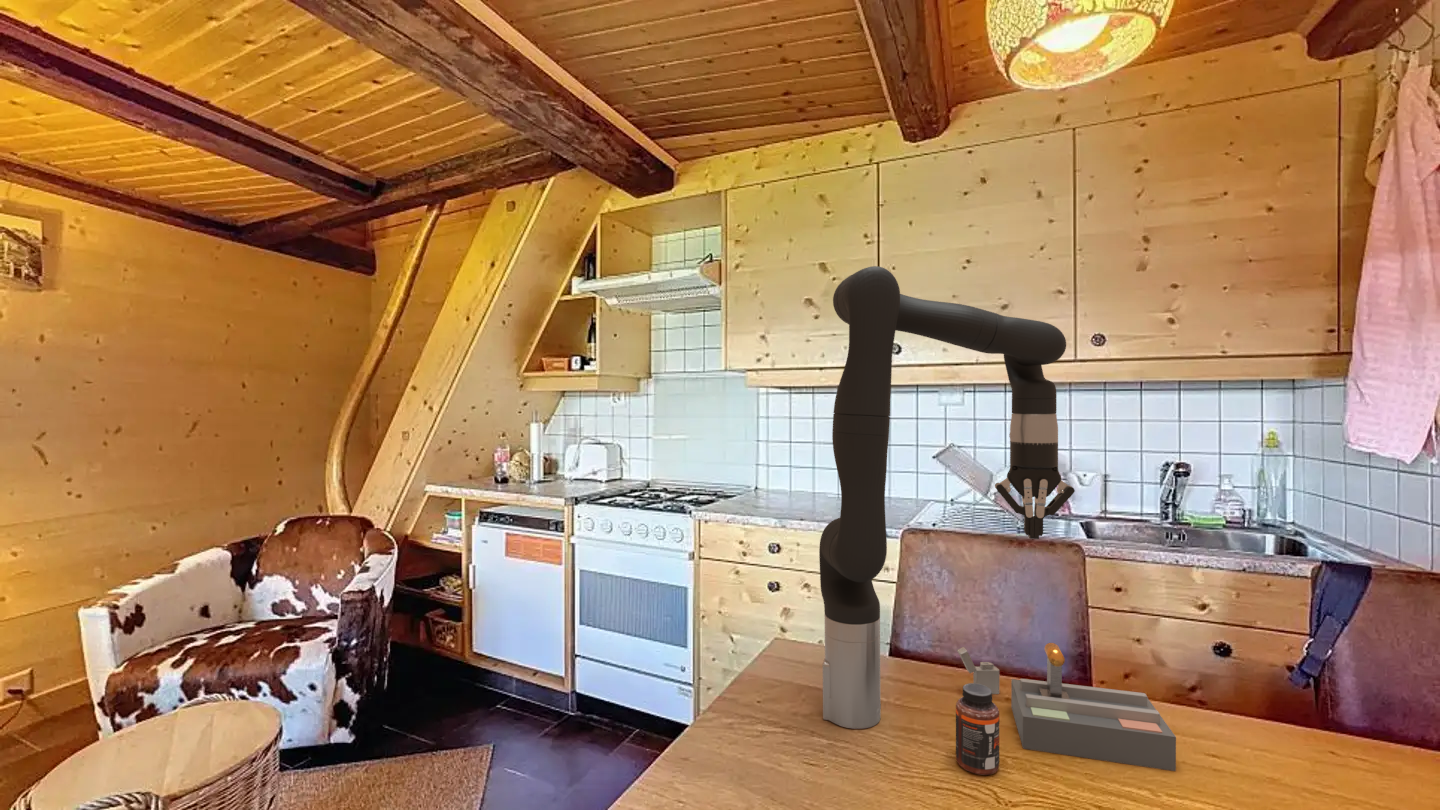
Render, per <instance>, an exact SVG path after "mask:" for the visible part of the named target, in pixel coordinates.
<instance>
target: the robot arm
mask: <svg viewBox="0 0 1440 810" xmlns="http://www.w3.org/2000/svg"><path fill="white" fill-rule="evenodd" d="M832 305H833V308H834V311H835V314H836V315H837V316H838V318H839V319H840V320H842V321H843V322H844V323H845V324H847V325H848V326H849V327H848V351H847V356H846V361H845V365H844V368H843V371H842V374H841V378H840V379H839V384H838V386H837V391H836V394H835V395H836V396H835V399H834V405H833V412H832V413H833V414H832V415H833V417H832V432H831V433H832V447H833V455H834V460H835V467H836V470H837V476H838V479H839V480H838V481H839V485H840V493H841V495H840V496H841V498H840V499H841V503H840V504H841V506H840V512H839V513H840V514H839V517H838V518H835V519H833V520H832V521H830V522H829V523H828V524H827V525H825V527H824V529H823V531H822V533H821V536H820V539H819V556H818V557H819V578H820V579H819V581H820V592H821V593H820V594H821V597H822V600H823V604H824V605H823V607H824V608H823V609H824V611H823V612H824V660H823V662H822V719H823V720H825V721H829V722H832V723H833V724H835V725H837V726H840V727H842V728H843V727H844V728H847V729H852V730H854V729H856V730H861V729H867V728H868V729H869V728H871V727H872V728H873V727H874V726H876V725H877V724H879V722H880V721H881V710H882V709H881V707H882V705H881V704H882V703H881V603H880V600H879V599H880V598H878V597H879V596H878V595H877V593H876V591H875V588H874V584H873V581H872V580H873V579H875V578H876V577H877V576H878V575H879V574H880V573H881V571H882V569H883V568H884V565H885V563H886V560H887V553H888V549H887V548H888V543H887V542H888V541H887V524H886V522H887V521H886V501H885V500H886V497H885V496H886V492H885V491H886V483H887V468H888V467H887V466H888V448H889V441H890V439H889V437H890V424H891V423H890V421H891V417H890V416H891V393H892V369H893V367H892V365H893V352H894V351H893V349H894V342H895V336H896V332H904V333H909V334H913V335H918V336H921V337H926V338H929V339H933V340H936V341H940V342H943V343H946V344H951V345H954V346H957V347H960V348H965V349H967V350H972V351H975V352H980V353H983V354H991V355H994V354H995V355H996V354H998V355H999V354H1000V355H1003V360H1004V365H1005V370H1006V372H1007V377H1008V382H1009V385H1010V387H1011V417H1010V418H1011V419H1010V423H1009V424H1010V426H1009V445H1010V446H1009V470H1008V471H1007V474H1006V478H1005V479H1003V480H1002V481H1000V482H997V483H995V484H994V488H995V490H997V492H998V493H999V495H1000V496H1002V498H1003V499H1004V500H1005V501H1006V503H1007V504H1008V505H1009V506H1010V508H1011V509H1012V511H1014V512H1015V513H1016V514H1019V515H1022V516H1023V531H1024V534H1025V535H1026V536H1028V538H1029V539H1031V540H1040V537H1042V536H1043V535H1044V519H1045V517H1047V516H1048V517H1049V516H1050V515H1051V516H1053V515H1055V514H1056V513H1057V512H1058V511H1059V510H1060V509H1061V508H1062V506H1064V504H1065V503H1066V502H1067V501H1068V500H1069V499H1070V498H1071V497H1072V496H1073V494H1075V492H1076V491H1075V488H1074V487H1073V486H1071V485H1069V484H1067V483H1066V482H1064V481H1063V480H1062V475H1061V473H1060V472H1059V425H1058V417H1057V415H1058V414H1057V386H1056V384H1055V382H1053V381H1051V380H1049V379H1046V378H1045V375H1044V372H1043V366H1047V365H1050V364H1054V363H1055V362H1057V361H1058V360H1060V359H1061V358H1062V356H1063V355H1064V354H1065V351H1066V349H1067V339H1066V337H1065V335H1064V334H1063V332H1062V331H1061V330H1060V328H1058V327H1057V326H1055V325H1053V324H1050V323H1048V322H1045V321H1040V320H1036V319H1035V320H1034V319H1029V318H1023V317H1022V318H1021V317H1015V316H1014V317H1012V316H1005V315H1002V314H999V313H996V312H993V311H989V310H986V309H982V308H978V307H975V306H971V305H966V304H961V303H954V302H947V301H946V302H945V301H939V300H938V301H937V300H936V301H935V300H928V299H924V298H923V299H922V298H917V297H912V296H910V295H909V296H908V295H906V294H905V295H904V294H902V293H901V290H900V286H899V283H898V281H897V279H896V277H895V276H894V274H893V273H892V272H891V271H890V270H889V269H888V268H885V267H883V266H877V265H873V266H867V267H864V268H862V269H860V270H858V271H856V272H854V273H852V274H851V275H849V276H847V277H845V278H844V279H843V280H842V281H841V282H840V283H839V284H838V285H837V287H836V289H835V291H834V293H833V297H832ZM1010 485H1012V487H1013V488H1014V490H1016V492H1017V493H1018V494H1019V496H1021V501H1022V505H1019V504H1018V502H1017V501H1016V499H1014V497H1013V496H1012V495H1011V494H1010V492H1011V491H1012V489H1011V486H1010ZM1056 487H1057V488H1056ZM1055 489H1056V493H1057V494H1056V495H1055V496H1054V497H1053V498H1052V499H1051V501H1050V502H1049V503H1048V504H1047V502H1046V501H1047V498H1048V497H1049V496H1050V495H1051V494H1052V493H1053V491H1055ZM1046 504H1047V505H1046ZM1033 505H1034V507H1033Z"/></svg>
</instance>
